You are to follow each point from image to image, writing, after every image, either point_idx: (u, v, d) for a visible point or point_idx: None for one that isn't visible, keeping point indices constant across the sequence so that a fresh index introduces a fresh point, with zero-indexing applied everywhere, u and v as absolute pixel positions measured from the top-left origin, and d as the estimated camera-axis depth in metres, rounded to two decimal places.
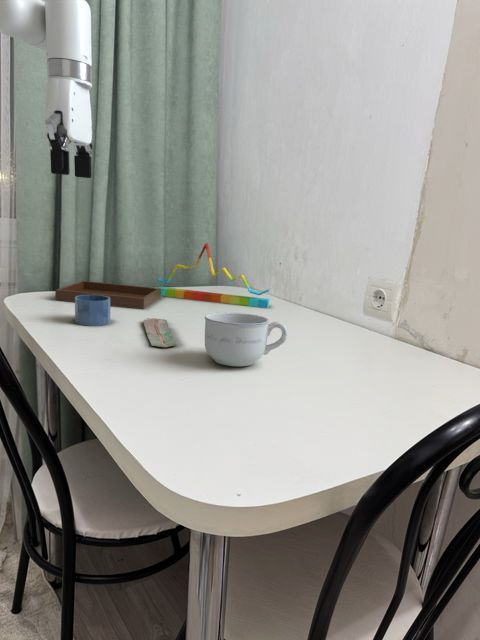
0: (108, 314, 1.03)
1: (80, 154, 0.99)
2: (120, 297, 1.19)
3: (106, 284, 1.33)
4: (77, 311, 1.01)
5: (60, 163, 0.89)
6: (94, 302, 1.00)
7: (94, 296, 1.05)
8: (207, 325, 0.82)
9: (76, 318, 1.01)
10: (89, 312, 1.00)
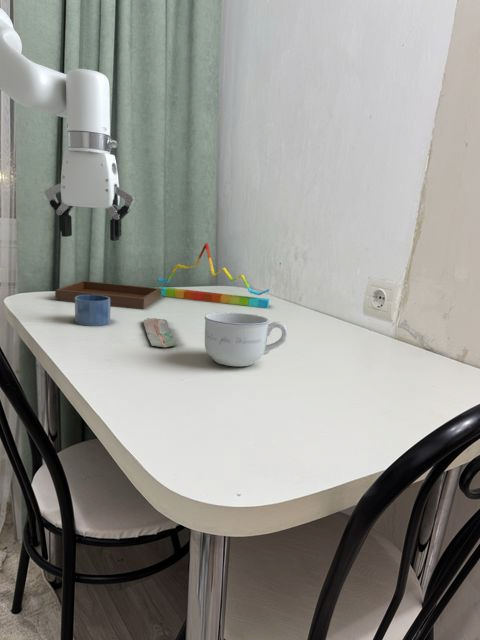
0: (108, 314, 1.03)
1: None
2: (120, 297, 1.19)
3: (106, 284, 1.33)
4: (77, 311, 1.01)
5: (60, 226, 0.98)
6: (94, 302, 1.00)
7: (94, 296, 1.05)
8: (207, 325, 0.82)
9: (76, 318, 1.01)
10: (89, 312, 1.00)
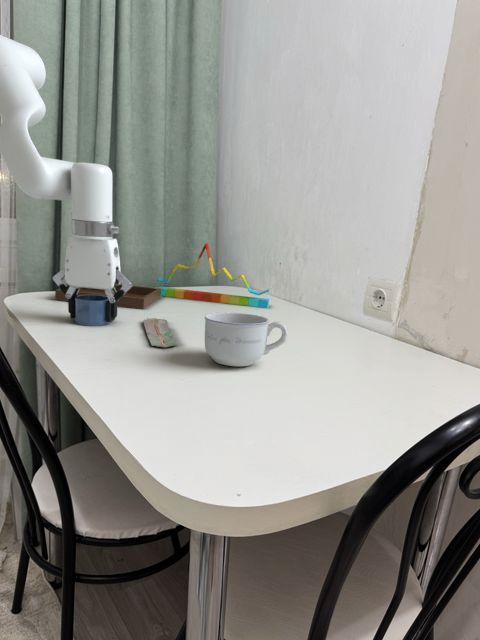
0: None
1: None
2: None
3: None
4: (77, 311, 1.01)
5: None
6: (94, 302, 1.00)
7: (94, 297, 1.05)
8: (207, 325, 0.82)
9: (76, 318, 1.01)
10: (89, 312, 1.00)
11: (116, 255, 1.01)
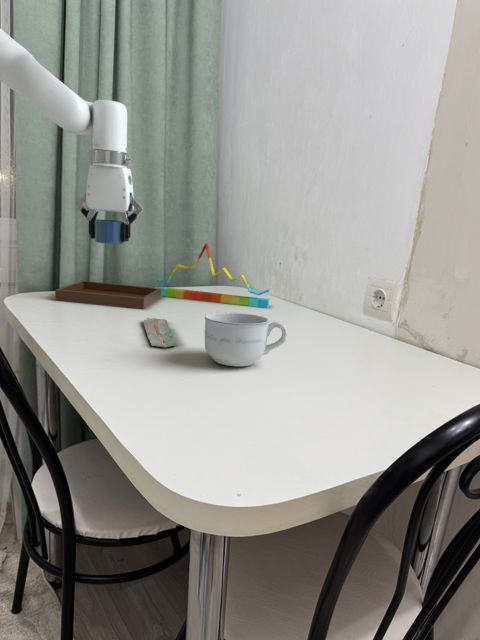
0: None
1: None
2: (120, 297, 1.19)
3: (106, 284, 1.33)
4: (96, 231, 1.17)
5: (89, 230, 1.20)
6: (111, 223, 1.16)
7: (111, 221, 1.22)
8: (207, 325, 0.82)
9: (95, 237, 1.18)
10: (107, 231, 1.17)
11: (130, 183, 1.17)
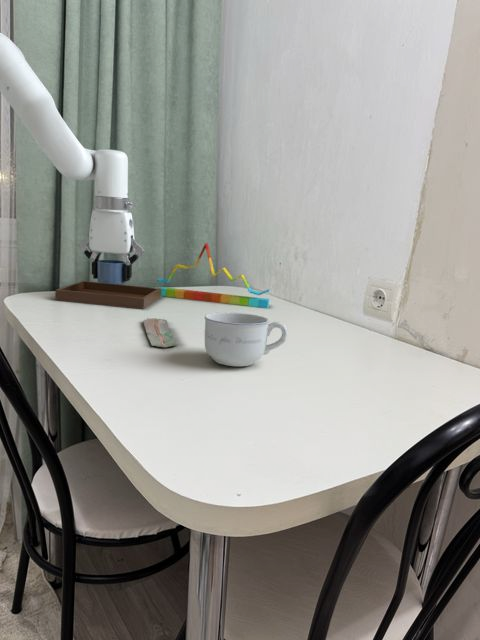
0: None
1: None
2: (120, 297, 1.19)
3: (106, 284, 1.33)
4: (99, 272, 1.23)
5: (92, 270, 1.25)
6: (113, 264, 1.22)
7: (113, 261, 1.28)
8: (207, 325, 0.82)
9: (98, 278, 1.24)
10: (109, 272, 1.22)
11: (131, 226, 1.23)
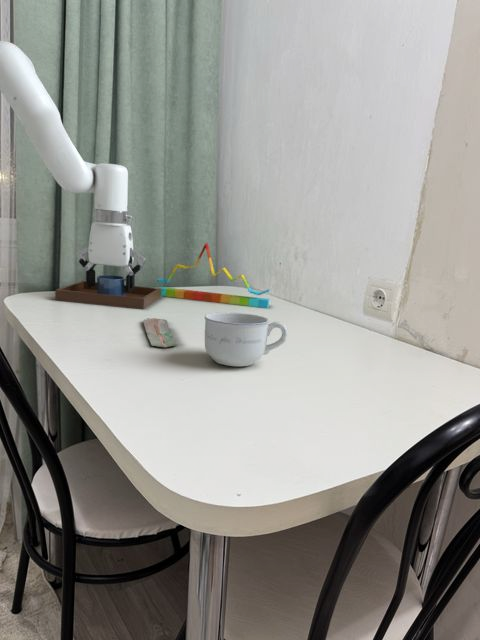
0: (124, 290, 1.26)
1: None
2: (120, 297, 1.19)
3: None
4: (99, 287, 1.24)
5: None
6: (113, 280, 1.23)
7: (112, 276, 1.29)
8: (207, 325, 0.82)
9: (98, 293, 1.25)
10: (109, 288, 1.23)
11: (130, 239, 1.23)
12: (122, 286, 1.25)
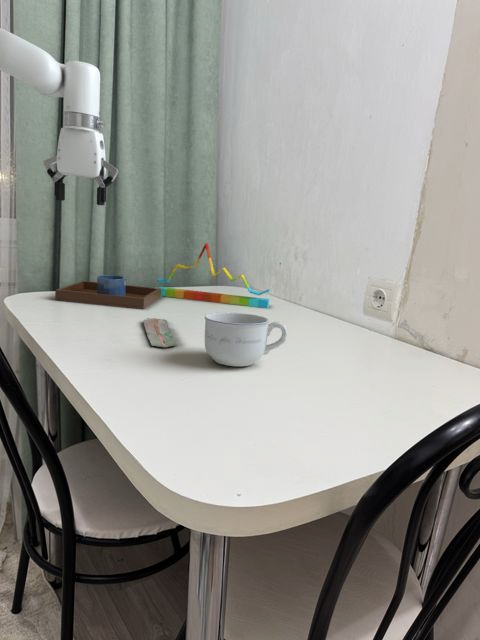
0: (124, 290, 1.26)
1: None
2: (120, 297, 1.19)
3: None
4: (99, 287, 1.24)
5: (55, 191, 1.18)
6: (113, 280, 1.23)
7: (112, 276, 1.29)
8: (207, 325, 0.82)
9: (98, 293, 1.25)
10: (109, 288, 1.23)
11: (102, 148, 1.16)
12: (122, 286, 1.25)
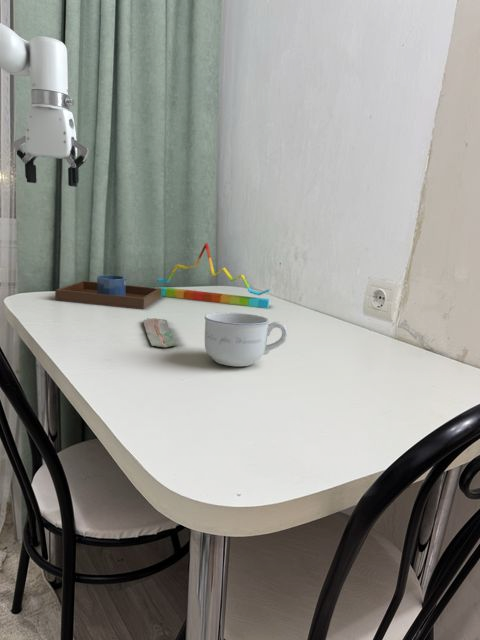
0: (124, 290, 1.26)
1: None
2: (120, 297, 1.19)
3: None
4: (99, 287, 1.24)
5: None
6: (113, 280, 1.23)
7: (112, 276, 1.29)
8: (207, 325, 0.82)
9: (98, 293, 1.25)
10: (109, 288, 1.23)
11: (72, 127, 1.13)
12: (122, 286, 1.25)
